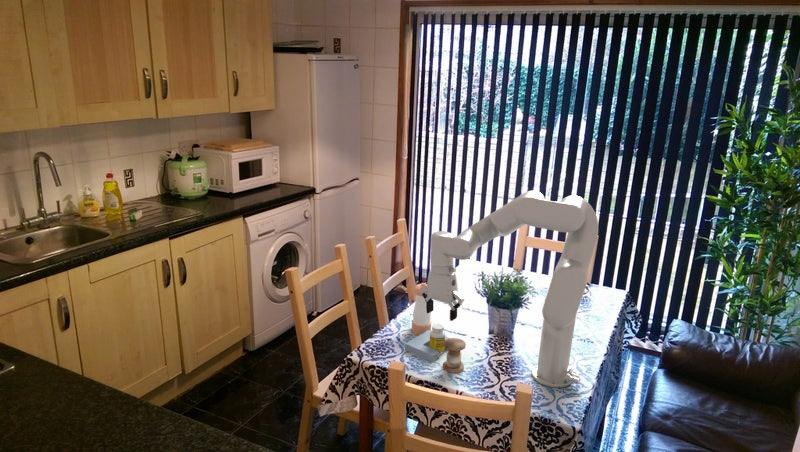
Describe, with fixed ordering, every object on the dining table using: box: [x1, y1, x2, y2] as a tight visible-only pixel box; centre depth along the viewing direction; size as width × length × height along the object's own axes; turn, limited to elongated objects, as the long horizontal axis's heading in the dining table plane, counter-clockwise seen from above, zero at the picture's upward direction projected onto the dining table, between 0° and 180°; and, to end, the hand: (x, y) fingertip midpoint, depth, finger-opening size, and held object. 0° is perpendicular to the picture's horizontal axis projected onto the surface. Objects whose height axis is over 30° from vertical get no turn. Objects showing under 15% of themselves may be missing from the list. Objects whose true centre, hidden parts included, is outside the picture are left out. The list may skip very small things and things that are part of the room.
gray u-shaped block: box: [404, 329, 450, 363], centre depth 190 cm, size 12×14×2 cm
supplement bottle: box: [429, 323, 446, 355], centre depth 187 cm, size 5×5×10 cm
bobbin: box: [442, 337, 467, 374], centre depth 177 cm, size 7×7×9 cm
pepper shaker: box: [411, 282, 432, 336], centre depth 200 cm, size 7×7×19 cm
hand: (441, 315), depth 184 cm, fingers open, 9 cm apart
